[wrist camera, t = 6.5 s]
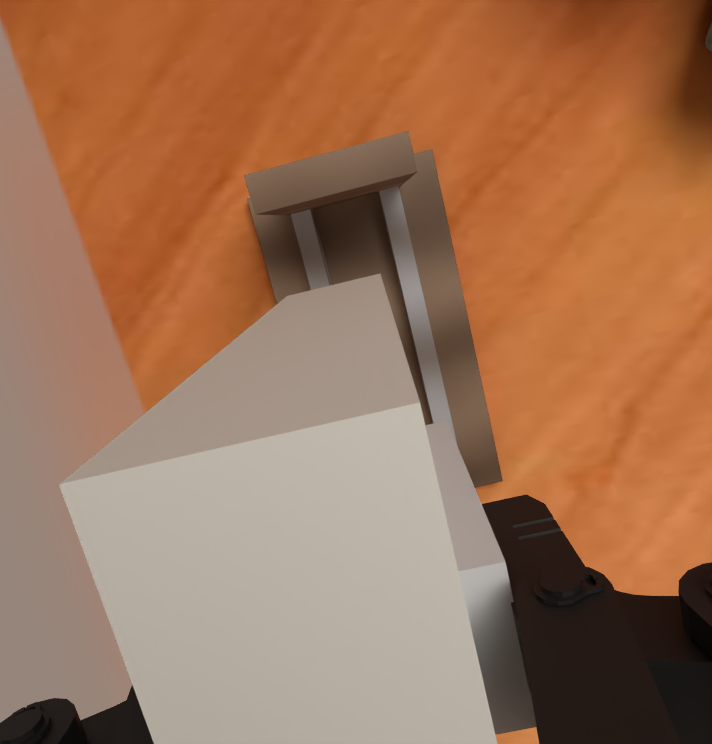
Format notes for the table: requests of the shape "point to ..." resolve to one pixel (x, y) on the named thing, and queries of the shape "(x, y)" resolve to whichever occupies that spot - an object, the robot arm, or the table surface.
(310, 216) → the track
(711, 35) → the flower pot
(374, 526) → the door panel
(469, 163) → the table surface
